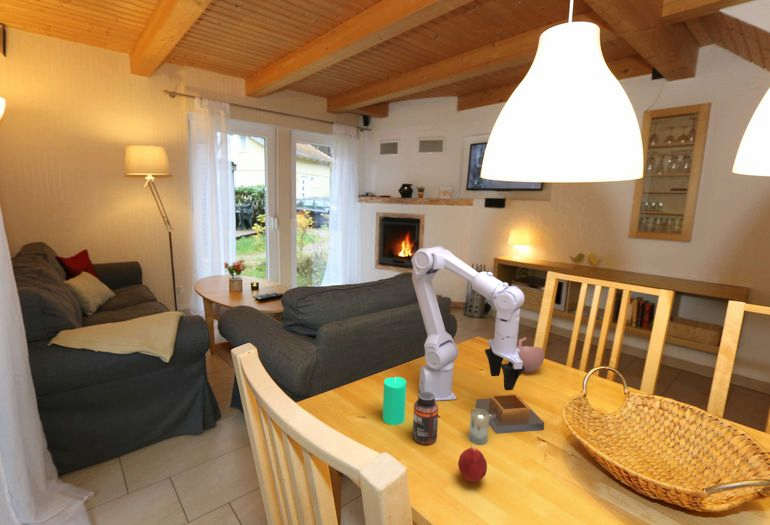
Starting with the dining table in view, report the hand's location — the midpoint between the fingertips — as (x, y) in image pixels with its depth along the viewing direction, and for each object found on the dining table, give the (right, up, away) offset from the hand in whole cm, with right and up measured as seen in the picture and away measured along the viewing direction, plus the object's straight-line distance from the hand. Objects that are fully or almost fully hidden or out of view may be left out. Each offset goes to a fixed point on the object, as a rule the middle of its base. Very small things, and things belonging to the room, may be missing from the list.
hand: (501, 382), depth 102 cm
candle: (-29, -10, 0) cm, 30 cm away
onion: (-13, -14, -21) cm, 29 cm away
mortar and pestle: (+17, -6, +31) cm, 36 cm away
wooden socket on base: (+2, -10, +2) cm, 11 cm away
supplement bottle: (-21, -11, -8) cm, 25 cm away
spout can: (-8, -12, -7) cm, 16 cm away
